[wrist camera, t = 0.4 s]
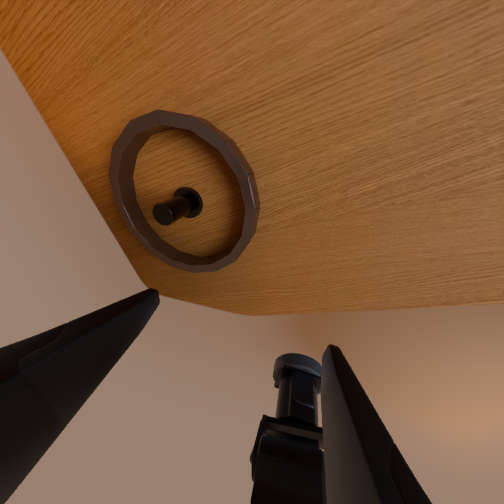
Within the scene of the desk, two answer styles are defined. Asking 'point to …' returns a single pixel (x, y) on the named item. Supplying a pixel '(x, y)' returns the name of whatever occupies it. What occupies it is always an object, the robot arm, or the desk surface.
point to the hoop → (126, 198)
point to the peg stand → (178, 206)
